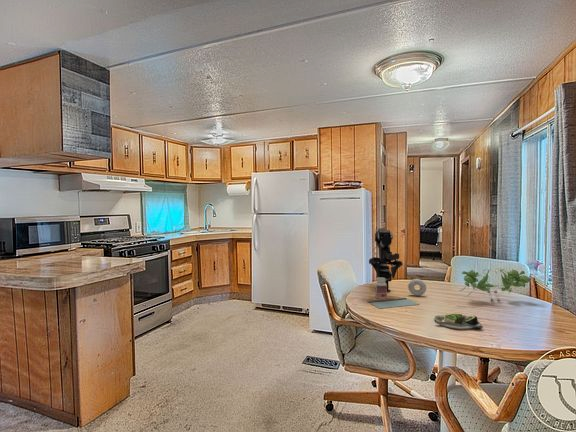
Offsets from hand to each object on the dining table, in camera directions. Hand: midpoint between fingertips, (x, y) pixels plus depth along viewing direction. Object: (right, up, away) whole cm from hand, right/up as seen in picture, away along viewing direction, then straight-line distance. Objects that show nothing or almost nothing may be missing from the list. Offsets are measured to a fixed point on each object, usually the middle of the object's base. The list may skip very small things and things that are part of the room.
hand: (386, 277), depth 185 cm
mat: (+2, -13, -9) cm, 16 cm away
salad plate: (+20, -14, -40) cm, 47 cm away
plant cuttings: (+56, -12, -5) cm, 57 cm away
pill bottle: (-2, -13, +4) cm, 13 cm away
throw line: (0, -13, -3) cm, 13 cm away
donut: (+20, -12, +6) cm, 24 cm away
